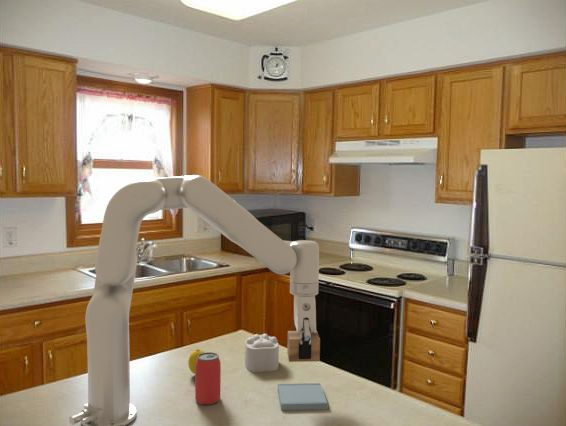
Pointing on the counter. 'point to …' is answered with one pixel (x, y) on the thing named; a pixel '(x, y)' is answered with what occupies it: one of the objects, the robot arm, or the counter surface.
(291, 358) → the wooden block
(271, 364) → the lumpy-topped squat cylinder
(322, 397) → the plate
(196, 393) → the beer can
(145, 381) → the counter surface
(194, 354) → the lemon
